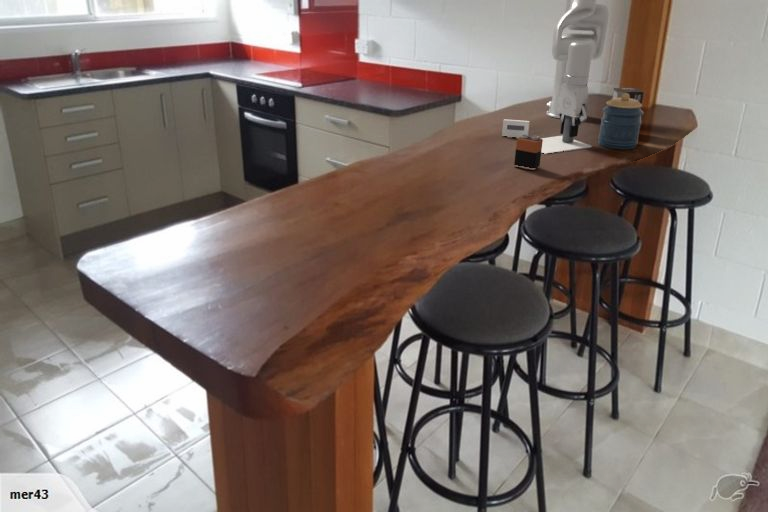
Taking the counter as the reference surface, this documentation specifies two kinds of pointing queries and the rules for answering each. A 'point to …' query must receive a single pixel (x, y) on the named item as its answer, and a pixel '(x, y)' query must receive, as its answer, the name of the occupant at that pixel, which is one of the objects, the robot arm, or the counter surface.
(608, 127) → the canister
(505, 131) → the word card
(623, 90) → the coffee box
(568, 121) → the marker
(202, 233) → the counter surface
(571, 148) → the paper
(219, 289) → the counter surface
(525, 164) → the battery
